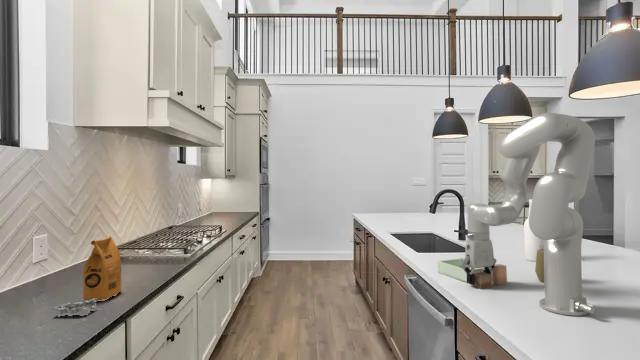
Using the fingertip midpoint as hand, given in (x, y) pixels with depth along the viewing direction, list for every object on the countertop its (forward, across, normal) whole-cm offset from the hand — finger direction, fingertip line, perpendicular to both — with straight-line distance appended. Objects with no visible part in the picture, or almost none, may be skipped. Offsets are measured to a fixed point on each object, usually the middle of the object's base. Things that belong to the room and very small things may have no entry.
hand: (478, 282), depth 130 cm
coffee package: (+3, -135, +44) cm, 141 cm away
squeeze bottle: (+1, +28, -6) cm, 29 cm away
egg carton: (+3, -138, +28) cm, 141 cm away
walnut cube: (+1, 0, -1) cm, 2 cm away
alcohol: (+2, +55, +21) cm, 59 cm away
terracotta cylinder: (+1, +9, -1) cm, 9 cm away
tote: (+2, +5, +13) cm, 14 cm away
